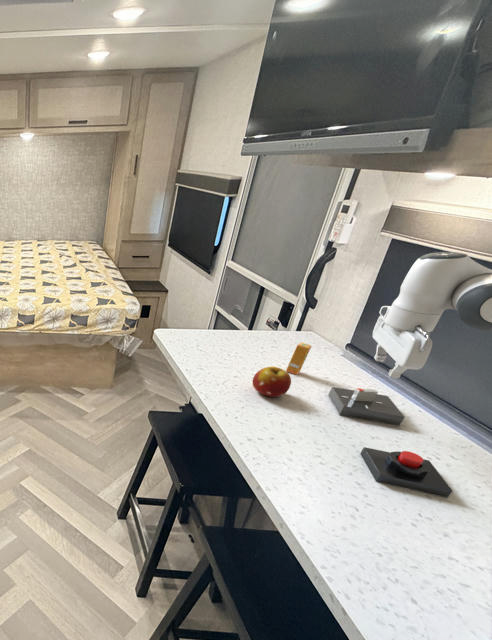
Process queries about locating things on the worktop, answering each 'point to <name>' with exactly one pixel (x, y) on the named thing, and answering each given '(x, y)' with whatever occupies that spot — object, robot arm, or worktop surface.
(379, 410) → the panel
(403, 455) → the button
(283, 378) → the fruit
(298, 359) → the supplement box
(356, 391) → the stove knob
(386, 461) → the switch
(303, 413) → the worktop surface
